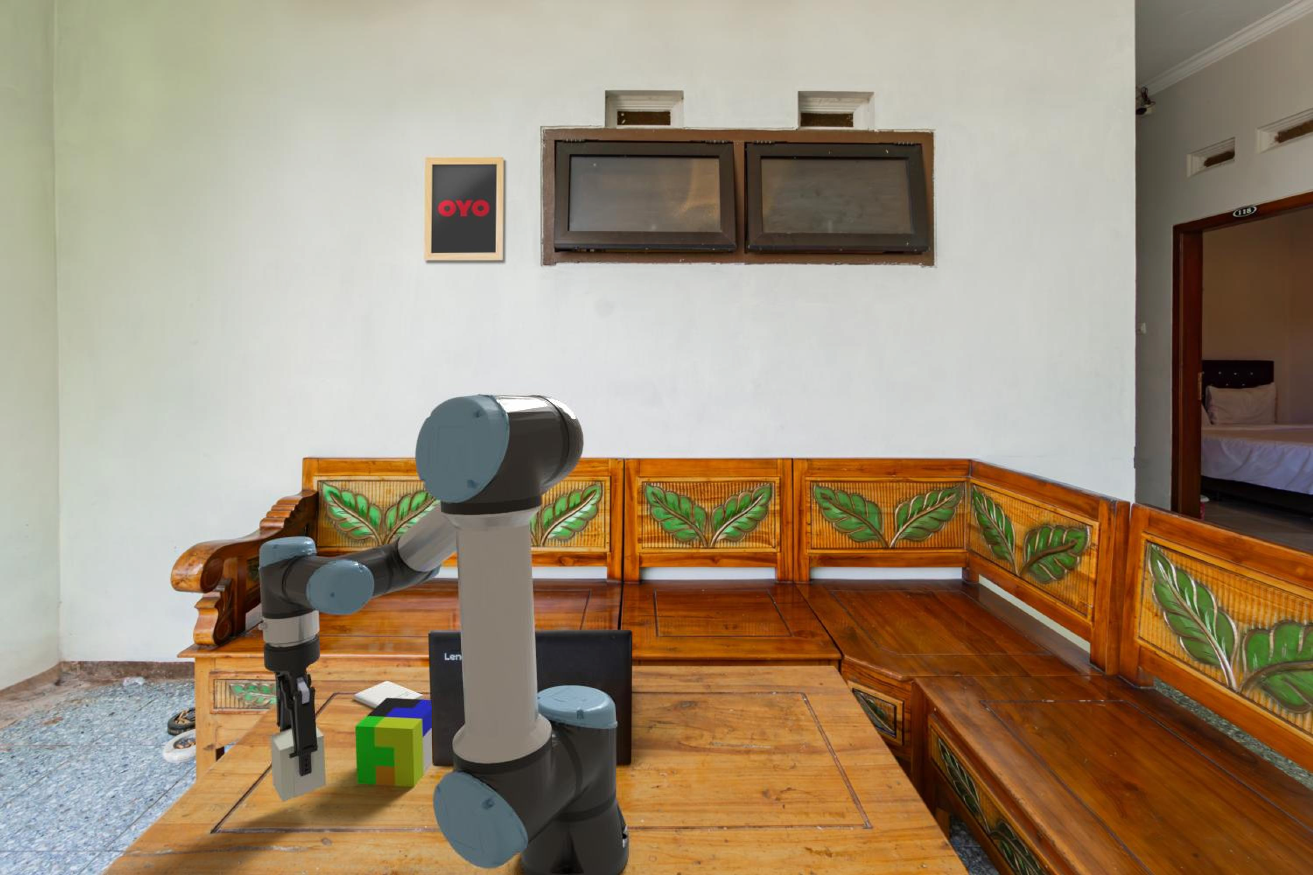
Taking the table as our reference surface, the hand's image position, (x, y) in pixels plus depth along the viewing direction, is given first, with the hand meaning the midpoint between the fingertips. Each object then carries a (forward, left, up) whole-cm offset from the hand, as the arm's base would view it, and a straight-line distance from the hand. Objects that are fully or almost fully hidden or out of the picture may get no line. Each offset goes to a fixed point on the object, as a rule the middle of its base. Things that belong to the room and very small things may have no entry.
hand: (298, 782), depth 99 cm
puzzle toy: (0, -16, -5) cm, 16 cm away
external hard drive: (+28, -24, -5) cm, 37 cm away
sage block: (0, 0, 0) cm, 0 cm away
